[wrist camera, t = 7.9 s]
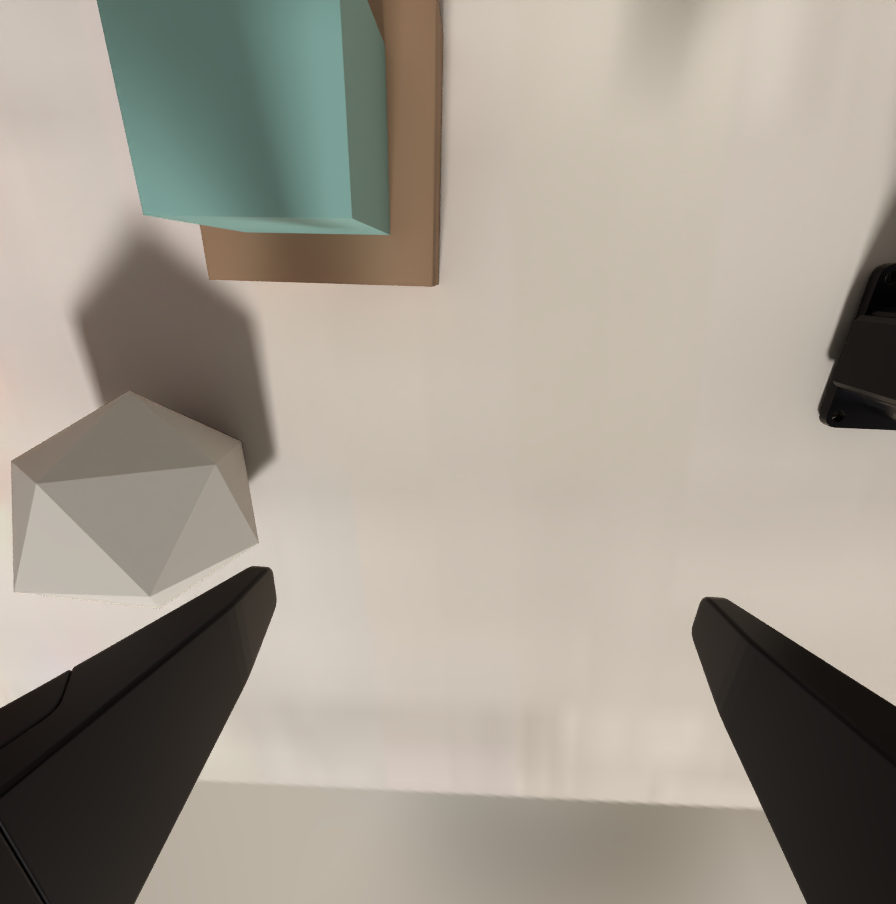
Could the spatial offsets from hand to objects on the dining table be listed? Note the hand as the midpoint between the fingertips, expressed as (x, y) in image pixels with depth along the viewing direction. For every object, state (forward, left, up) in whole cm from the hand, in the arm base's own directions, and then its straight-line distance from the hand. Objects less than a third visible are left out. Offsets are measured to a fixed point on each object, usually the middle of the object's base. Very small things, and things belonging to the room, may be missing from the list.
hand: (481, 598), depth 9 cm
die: (+14, +3, -12) cm, 19 cm away
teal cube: (+6, -10, -9) cm, 15 cm away
